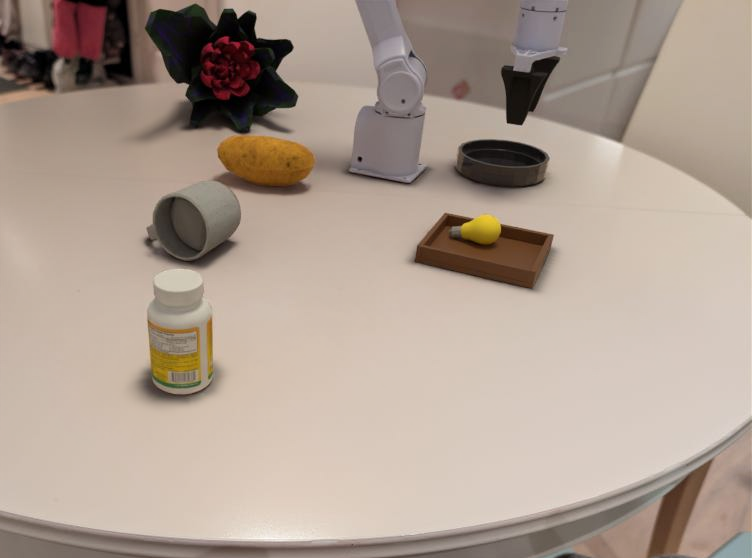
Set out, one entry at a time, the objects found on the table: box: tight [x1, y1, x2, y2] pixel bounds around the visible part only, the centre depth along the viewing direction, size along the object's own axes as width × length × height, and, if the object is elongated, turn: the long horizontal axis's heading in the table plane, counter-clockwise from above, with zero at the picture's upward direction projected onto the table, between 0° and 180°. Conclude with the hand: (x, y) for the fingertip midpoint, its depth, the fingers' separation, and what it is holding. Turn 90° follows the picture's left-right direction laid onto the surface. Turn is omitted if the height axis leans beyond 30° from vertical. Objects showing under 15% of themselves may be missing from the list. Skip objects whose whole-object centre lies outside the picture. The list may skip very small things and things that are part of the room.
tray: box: [414, 212, 555, 289], centre depth 86 cm, size 13×11×2 cm
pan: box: [455, 138, 550, 188], centre depth 110 cm, size 13×13×3 cm
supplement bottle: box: [146, 268, 214, 395], centre depth 62 cm, size 5×5×10 cm
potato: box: [216, 134, 316, 187], centre depth 103 cm, size 8×14×7 cm, turn 65°
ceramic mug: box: [146, 180, 242, 262], centre depth 85 cm, size 11×8×8 cm
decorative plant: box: [144, 3, 299, 133], centre depth 123 cm, size 21×26×30 cm
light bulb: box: [449, 214, 501, 245], centre depth 88 cm, size 3×6×4 cm, turn 71°
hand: (520, 117), depth 102 cm, fingers open, 7 cm apart
